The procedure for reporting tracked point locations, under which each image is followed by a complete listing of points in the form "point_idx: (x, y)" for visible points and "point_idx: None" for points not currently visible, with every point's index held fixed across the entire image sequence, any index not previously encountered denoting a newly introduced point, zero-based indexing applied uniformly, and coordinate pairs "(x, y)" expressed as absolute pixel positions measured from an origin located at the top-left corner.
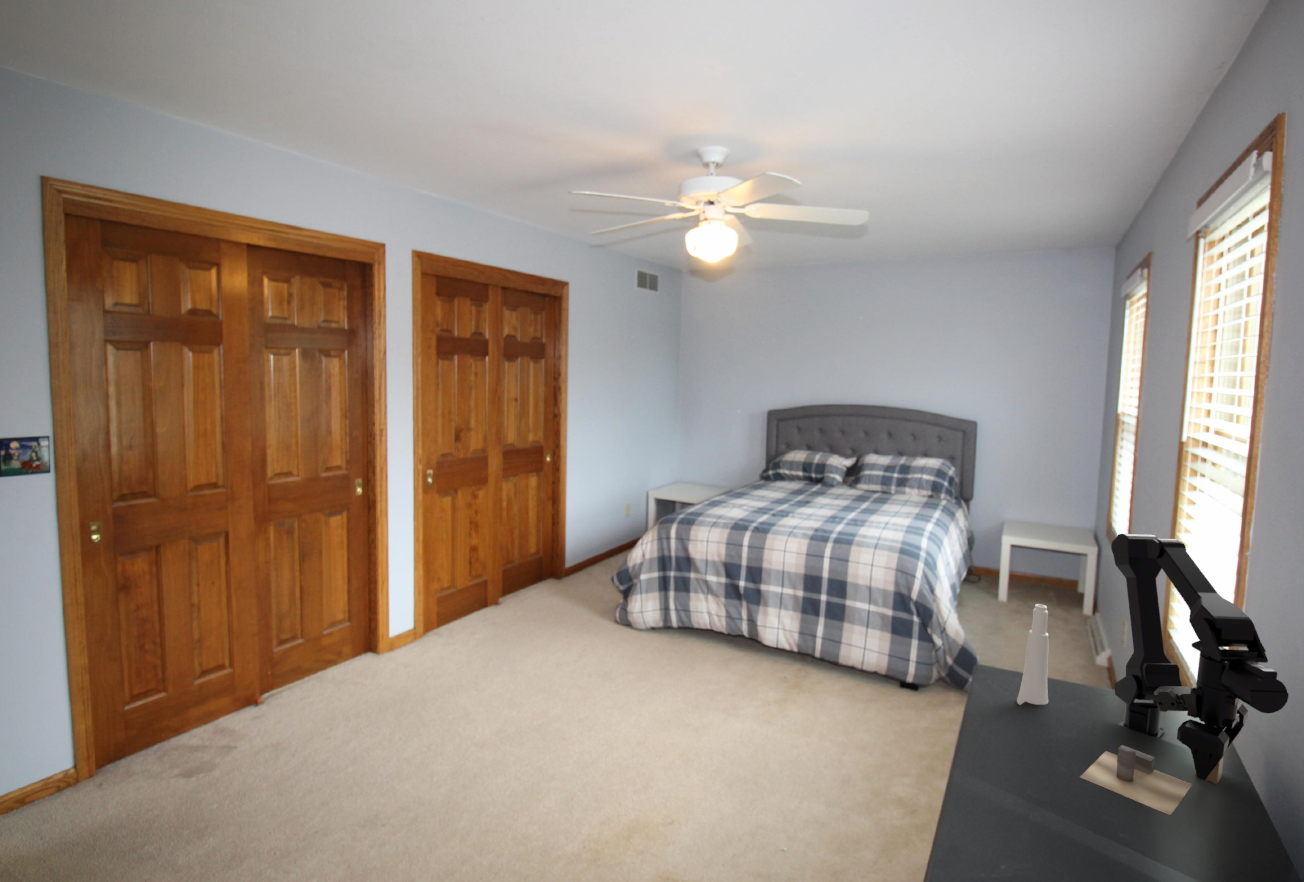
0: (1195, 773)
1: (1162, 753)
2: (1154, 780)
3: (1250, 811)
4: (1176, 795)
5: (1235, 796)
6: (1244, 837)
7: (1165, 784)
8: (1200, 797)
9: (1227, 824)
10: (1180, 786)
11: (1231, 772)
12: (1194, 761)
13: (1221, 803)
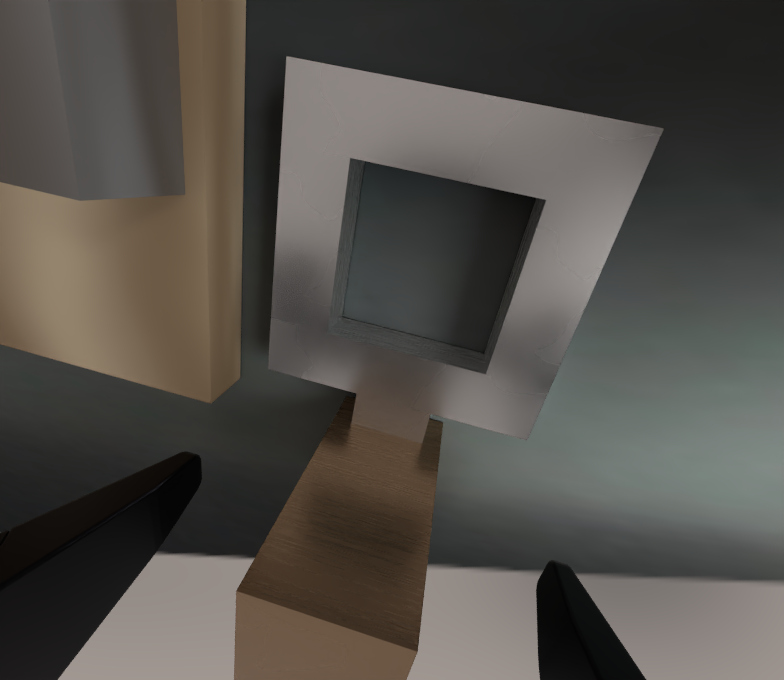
0: (324, 435)
1: (704, 235)
2: (62, 210)
3: None
4: (20, 325)
5: None
6: (76, 496)
7: (77, 273)
8: (229, 407)
9: (107, 466)
10: (131, 346)
11: (624, 560)
12: (24, 529)
13: (249, 472)
